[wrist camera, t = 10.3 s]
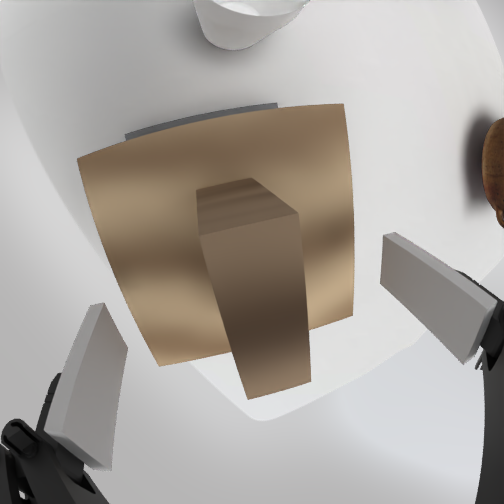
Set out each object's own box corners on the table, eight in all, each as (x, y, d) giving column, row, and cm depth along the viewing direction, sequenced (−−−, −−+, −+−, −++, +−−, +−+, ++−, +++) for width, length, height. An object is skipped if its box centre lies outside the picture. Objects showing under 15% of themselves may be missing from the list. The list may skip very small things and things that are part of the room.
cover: (131, 146, 25) (0, 183, 6) (274, 115, 27) (431, 97, 7) (168, 274, 31) (156, 448, 12) (292, 244, 33) (401, 378, 14)
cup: (201, 68, 24) (206, 28, 13) (182, 3, 20) (180, -56, 9) (283, 53, 24) (332, 16, 14) (262, -9, 20) (297, -63, 10)
